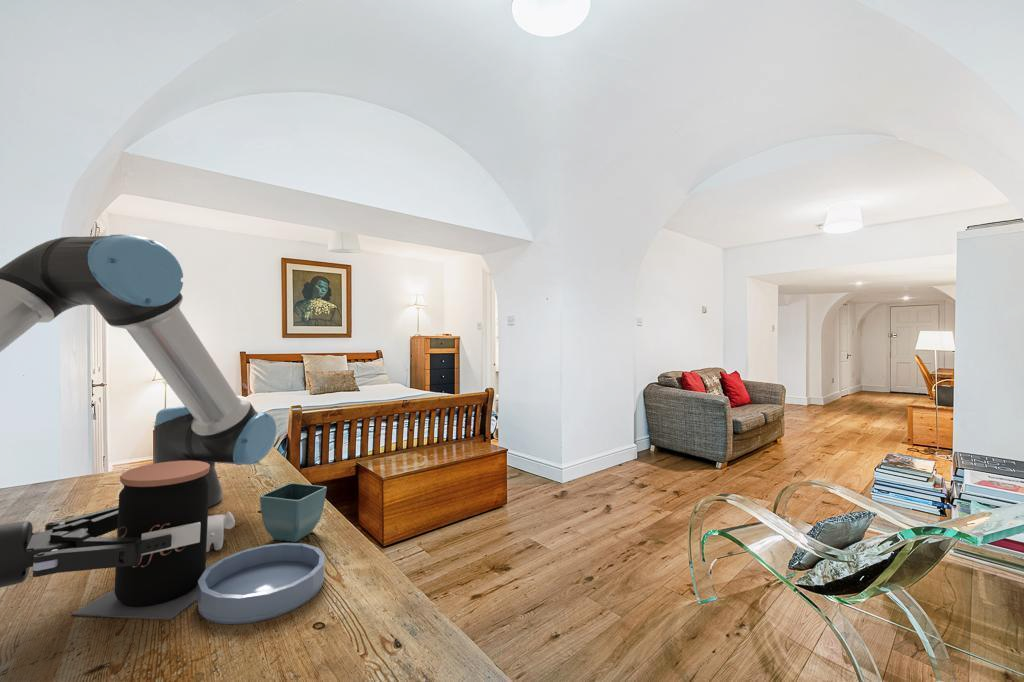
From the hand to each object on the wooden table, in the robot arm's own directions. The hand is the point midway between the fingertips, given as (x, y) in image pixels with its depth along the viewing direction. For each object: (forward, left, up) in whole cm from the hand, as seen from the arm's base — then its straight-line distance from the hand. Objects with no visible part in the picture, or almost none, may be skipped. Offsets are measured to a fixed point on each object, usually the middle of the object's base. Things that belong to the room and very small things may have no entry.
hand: (193, 517), depth 68 cm
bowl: (+1, +13, -10) cm, 16 cm away
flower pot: (-17, +7, -10) cm, 21 cm away
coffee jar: (+3, -2, -10) cm, 11 cm away
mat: (+2, -2, -10) cm, 10 cm away
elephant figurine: (-12, -5, -10) cm, 16 cm away
